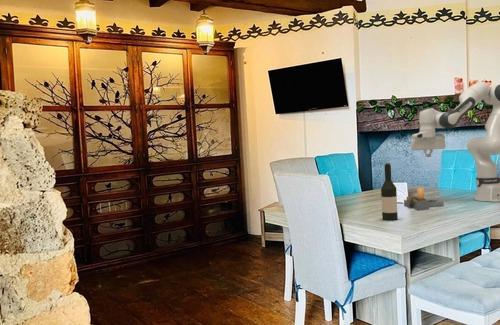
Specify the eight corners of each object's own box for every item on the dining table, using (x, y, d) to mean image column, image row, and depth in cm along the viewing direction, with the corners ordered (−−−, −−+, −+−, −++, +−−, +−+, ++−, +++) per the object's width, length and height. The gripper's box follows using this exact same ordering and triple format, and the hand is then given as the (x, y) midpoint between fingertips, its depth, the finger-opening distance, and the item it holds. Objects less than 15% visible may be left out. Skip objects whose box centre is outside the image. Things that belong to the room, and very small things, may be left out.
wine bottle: (379, 218, 238) (376, 163, 236) (394, 217, 238) (391, 162, 237) (385, 221, 229) (382, 164, 228) (400, 220, 230) (398, 163, 228)
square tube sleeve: (424, 207, 260) (424, 198, 260) (429, 209, 253) (428, 200, 253) (412, 208, 260) (412, 199, 260) (417, 210, 253) (416, 200, 253)
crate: (416, 204, 269) (416, 195, 269) (420, 205, 263) (420, 197, 263) (406, 204, 269) (406, 196, 269) (410, 206, 263) (409, 197, 263)
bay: (436, 203, 271) (436, 197, 271) (443, 206, 261) (443, 200, 261) (404, 205, 271) (404, 199, 271) (409, 208, 261) (409, 202, 261)
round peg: (422, 203, 258) (421, 188, 258) (425, 203, 255) (425, 188, 255) (416, 203, 258) (416, 188, 258) (419, 204, 254) (419, 188, 254)
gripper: (442, 133, 271) (443, 155, 272) (409, 135, 272) (410, 157, 272) (446, 133, 265) (447, 156, 266) (412, 135, 265) (413, 158, 266)
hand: (428, 157), depth 269 cm, fingers closed
